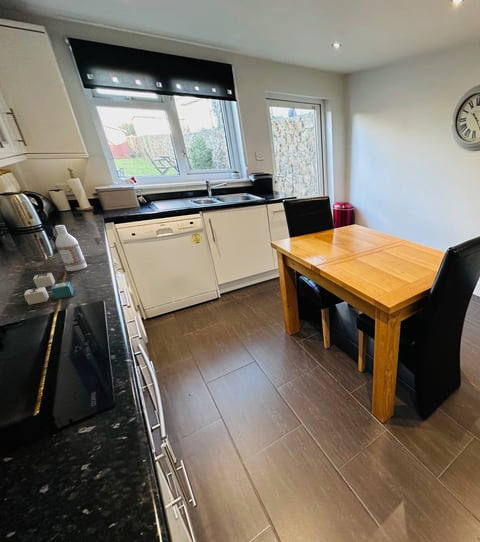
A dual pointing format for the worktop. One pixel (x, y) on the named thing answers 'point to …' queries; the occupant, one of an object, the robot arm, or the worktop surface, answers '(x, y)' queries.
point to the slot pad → (64, 297)
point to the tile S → (62, 290)
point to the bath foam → (69, 250)
